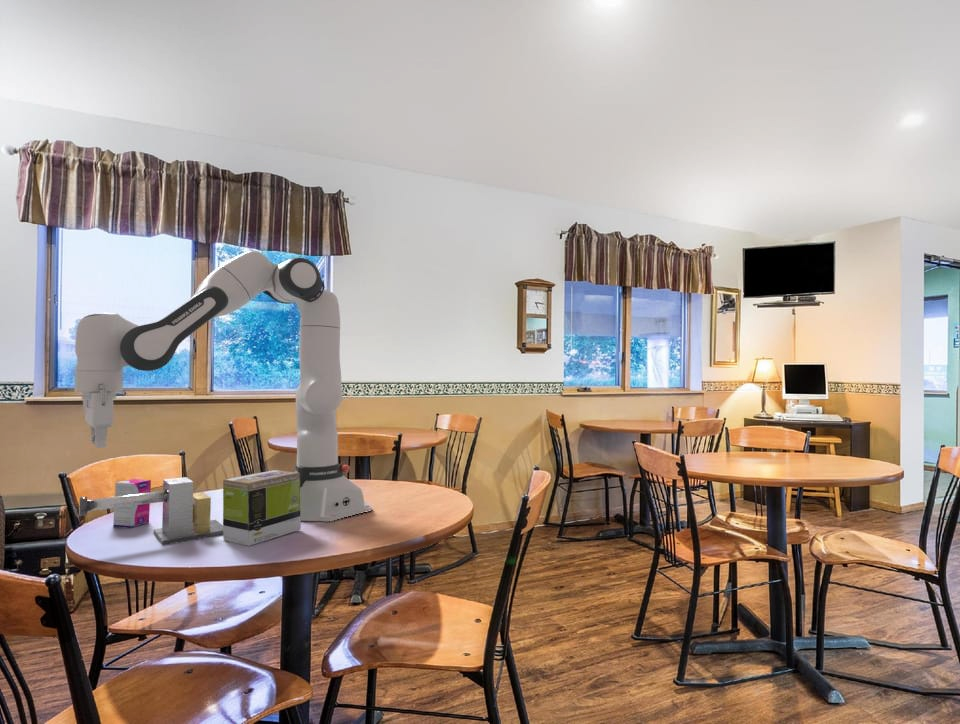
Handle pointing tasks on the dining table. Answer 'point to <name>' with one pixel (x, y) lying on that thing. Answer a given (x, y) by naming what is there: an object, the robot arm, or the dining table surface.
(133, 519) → the supplement box
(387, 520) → the dining table surface
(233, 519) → the tea box
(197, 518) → the block
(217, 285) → the robot arm
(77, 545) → the dining table surface
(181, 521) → the stand
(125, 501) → the shaft
